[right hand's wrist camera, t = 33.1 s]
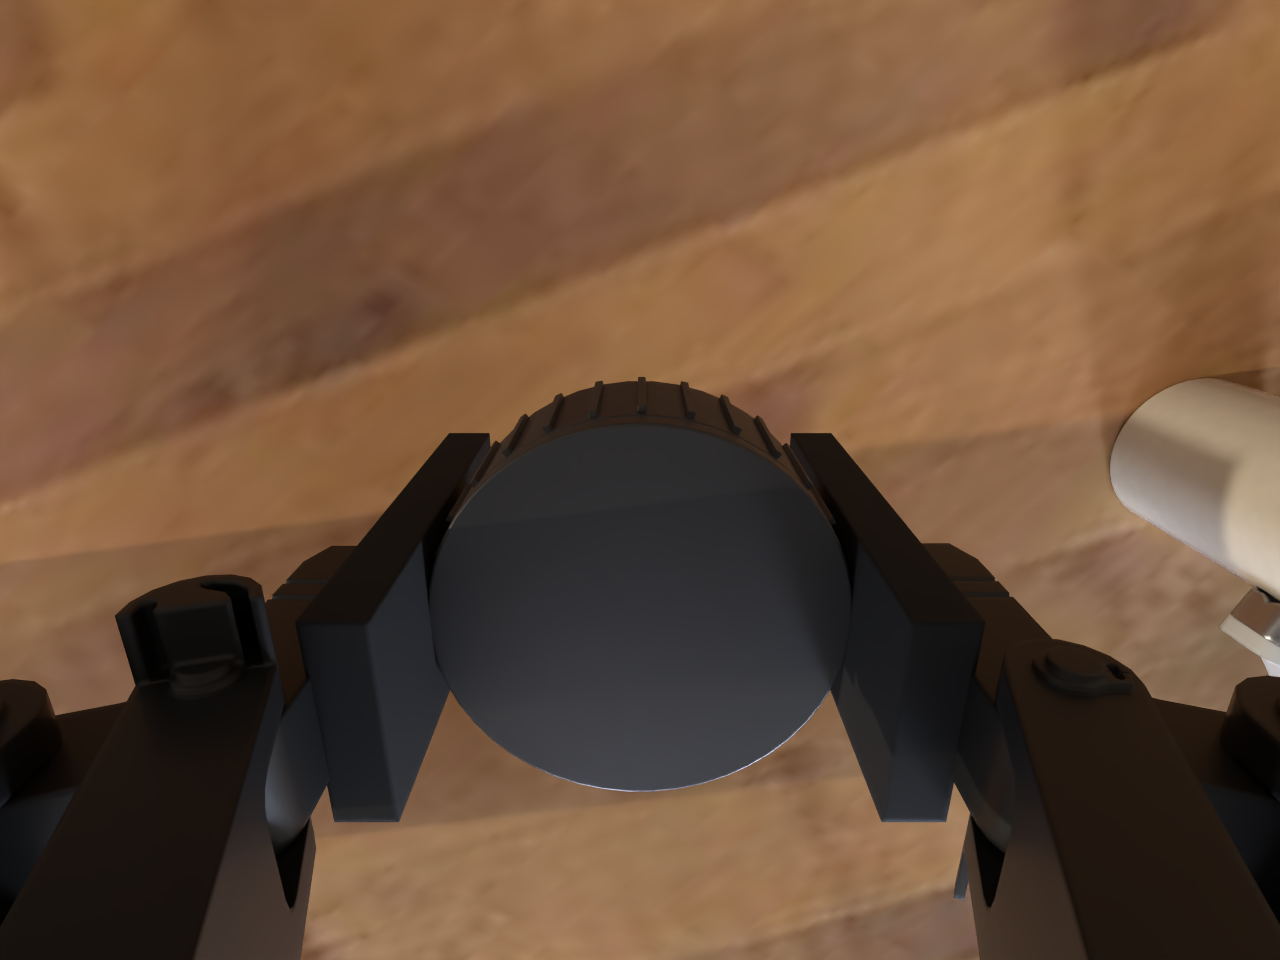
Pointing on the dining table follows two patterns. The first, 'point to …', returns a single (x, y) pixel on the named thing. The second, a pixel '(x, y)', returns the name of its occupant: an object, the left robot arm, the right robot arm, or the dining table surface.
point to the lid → (640, 590)
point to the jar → (1208, 473)
